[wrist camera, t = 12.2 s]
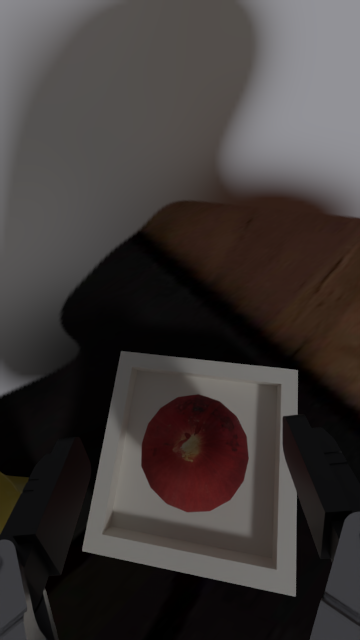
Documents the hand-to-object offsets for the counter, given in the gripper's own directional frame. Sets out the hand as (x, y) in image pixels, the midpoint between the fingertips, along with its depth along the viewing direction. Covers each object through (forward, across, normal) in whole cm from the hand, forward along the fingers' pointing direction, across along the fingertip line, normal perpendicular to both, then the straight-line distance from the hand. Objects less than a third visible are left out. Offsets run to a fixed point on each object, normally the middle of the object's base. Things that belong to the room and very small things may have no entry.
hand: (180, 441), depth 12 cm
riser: (+9, 0, +11) cm, 14 cm away
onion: (+6, 0, +7) cm, 9 cm away
